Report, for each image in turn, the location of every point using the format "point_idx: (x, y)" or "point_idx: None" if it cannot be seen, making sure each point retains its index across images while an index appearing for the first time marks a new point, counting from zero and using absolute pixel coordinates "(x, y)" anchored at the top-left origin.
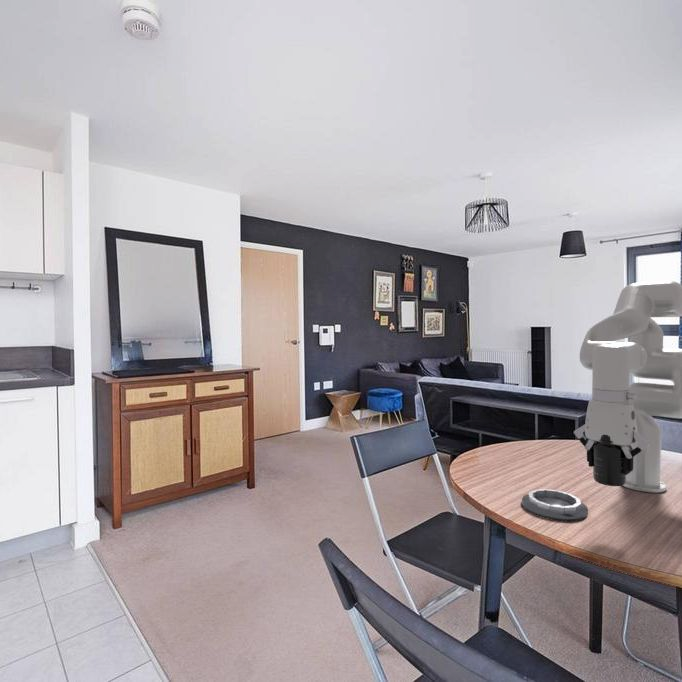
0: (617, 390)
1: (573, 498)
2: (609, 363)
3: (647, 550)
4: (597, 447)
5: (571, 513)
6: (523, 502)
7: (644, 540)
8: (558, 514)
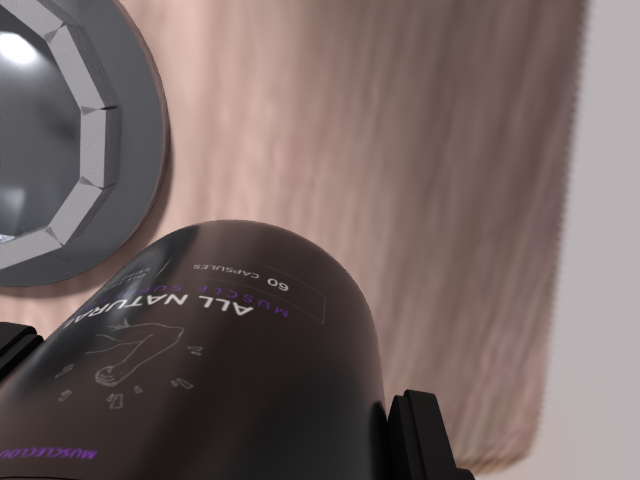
0: None
1: (36, 31)
2: None
3: (451, 332)
4: None
5: (105, 204)
6: None
7: (439, 241)
8: (63, 258)
